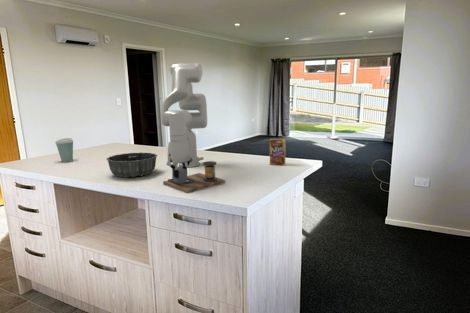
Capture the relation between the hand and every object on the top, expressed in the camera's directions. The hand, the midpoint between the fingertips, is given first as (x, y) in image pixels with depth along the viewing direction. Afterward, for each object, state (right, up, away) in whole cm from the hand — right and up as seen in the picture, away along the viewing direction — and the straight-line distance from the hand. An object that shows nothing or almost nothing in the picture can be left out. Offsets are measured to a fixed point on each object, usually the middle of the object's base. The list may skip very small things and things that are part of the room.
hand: (180, 176), depth 153 cm
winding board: (+6, -4, +3) cm, 8 cm away
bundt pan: (-30, 0, +25) cm, 39 cm away
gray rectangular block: (-1, -2, +1) cm, 3 cm away
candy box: (+51, +4, +39) cm, 64 cm away
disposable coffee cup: (-87, +6, +63) cm, 107 cm away
